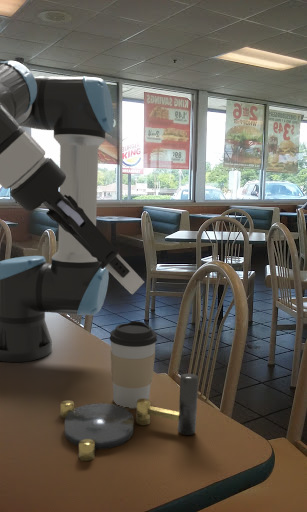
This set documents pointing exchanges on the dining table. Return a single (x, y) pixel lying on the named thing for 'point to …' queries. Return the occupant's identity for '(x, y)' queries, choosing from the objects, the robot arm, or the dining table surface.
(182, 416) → the lever
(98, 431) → the plate
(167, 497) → the dining table surface
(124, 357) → the coffee cup
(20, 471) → the dining table surface
